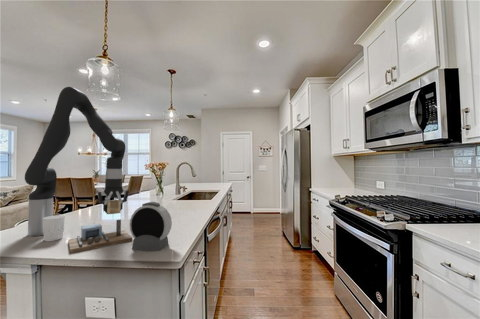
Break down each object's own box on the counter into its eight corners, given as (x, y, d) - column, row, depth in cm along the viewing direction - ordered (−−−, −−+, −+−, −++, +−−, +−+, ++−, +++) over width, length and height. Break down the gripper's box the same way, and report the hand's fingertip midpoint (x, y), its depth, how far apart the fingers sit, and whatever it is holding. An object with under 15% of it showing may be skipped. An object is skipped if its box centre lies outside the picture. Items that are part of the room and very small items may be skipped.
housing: (81, 237, 99) (81, 226, 99) (99, 234, 104) (99, 223, 104) (82, 240, 94) (82, 229, 95) (101, 237, 99) (101, 226, 99)
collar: (105, 212, 112) (105, 200, 112) (117, 211, 116) (118, 199, 116) (107, 214, 108) (108, 202, 108) (120, 213, 111) (120, 201, 112)
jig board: (68, 243, 97) (68, 223, 97) (124, 233, 111) (124, 216, 111) (70, 253, 85) (70, 230, 85) (132, 240, 99) (132, 221, 99)
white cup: (51, 242, 98) (52, 219, 98) (37, 241, 99) (37, 218, 99) (68, 236, 105) (69, 215, 106) (55, 235, 107) (55, 214, 107)
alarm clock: (124, 250, 88) (125, 203, 89) (139, 241, 98) (140, 200, 99) (163, 252, 86) (163, 204, 86) (174, 243, 96) (174, 200, 97)
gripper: (127, 177, 120) (126, 208, 119) (96, 177, 111) (95, 211, 110) (131, 177, 114) (130, 211, 114) (98, 178, 105) (97, 214, 104)
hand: (112, 211), depth 112 cm, fingers closed on collar, 5 cm apart
